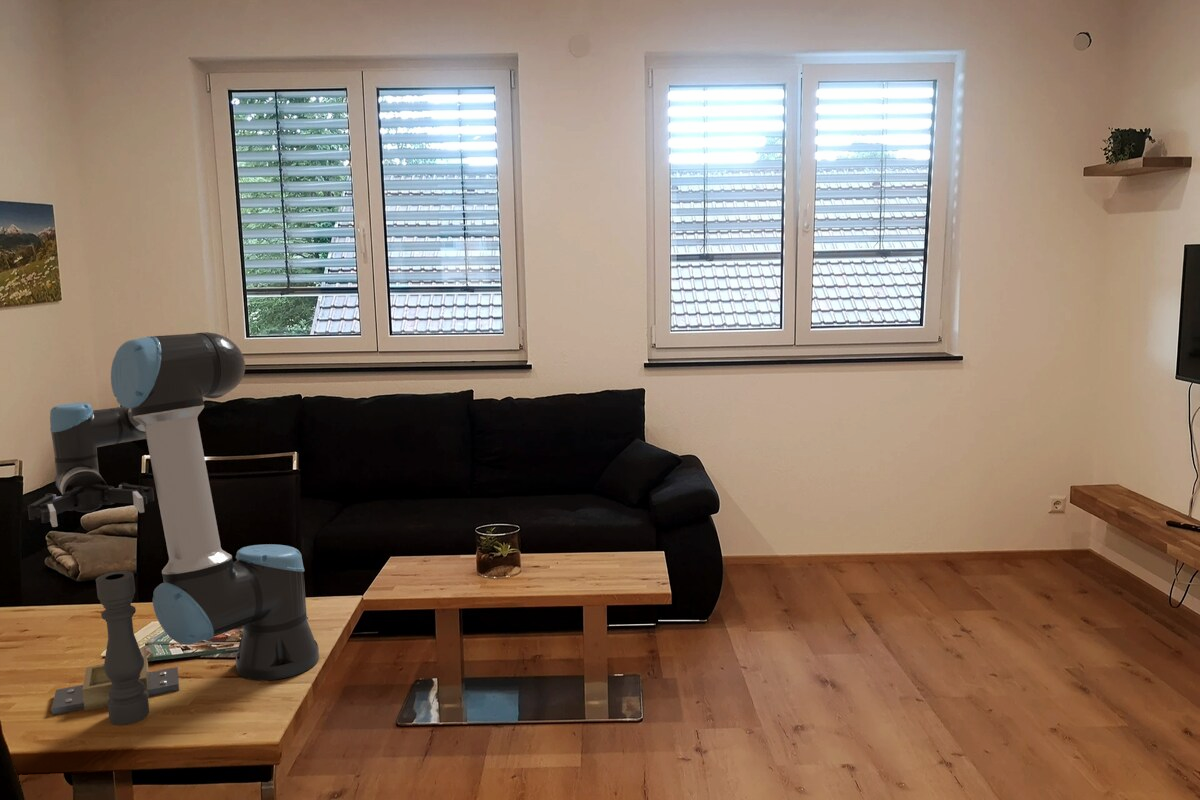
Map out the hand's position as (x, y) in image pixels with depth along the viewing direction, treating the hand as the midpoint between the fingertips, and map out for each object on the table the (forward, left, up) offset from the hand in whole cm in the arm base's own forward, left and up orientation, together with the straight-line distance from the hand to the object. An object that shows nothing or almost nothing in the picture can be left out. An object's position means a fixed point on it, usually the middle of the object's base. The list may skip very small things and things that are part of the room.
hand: (98, 512), depth 162 cm
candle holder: (-9, +6, -34) cm, 36 cm away
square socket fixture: (0, 0, -34) cm, 34 cm away
